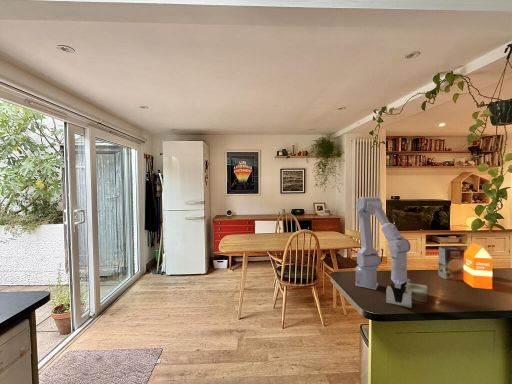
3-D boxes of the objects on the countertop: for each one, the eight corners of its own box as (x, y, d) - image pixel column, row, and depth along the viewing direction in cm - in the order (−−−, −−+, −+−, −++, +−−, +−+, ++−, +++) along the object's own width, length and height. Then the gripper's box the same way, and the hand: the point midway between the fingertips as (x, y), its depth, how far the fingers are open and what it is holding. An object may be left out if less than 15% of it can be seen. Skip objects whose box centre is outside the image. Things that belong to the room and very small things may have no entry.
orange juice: (473, 287, 121) (473, 246, 120) (463, 280, 129) (463, 242, 129) (492, 289, 119) (493, 247, 118) (481, 282, 127) (481, 243, 127)
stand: (394, 296, 111) (394, 287, 111) (396, 288, 120) (396, 280, 120) (427, 303, 105) (427, 293, 105) (427, 294, 113) (427, 285, 113)
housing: (386, 302, 106) (386, 287, 106) (387, 298, 110) (387, 283, 110) (411, 308, 101) (411, 292, 101) (411, 303, 105) (411, 288, 105)
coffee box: (445, 279, 131) (445, 249, 131) (438, 275, 137) (438, 246, 137) (464, 280, 130) (464, 249, 130) (455, 276, 136) (456, 246, 136)
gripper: (409, 274, 97) (409, 309, 97) (410, 264, 109) (410, 295, 109) (388, 271, 101) (388, 304, 101) (392, 261, 113) (392, 291, 113)
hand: (398, 299), depth 105 cm, fingers closed on housing, 5 cm apart
